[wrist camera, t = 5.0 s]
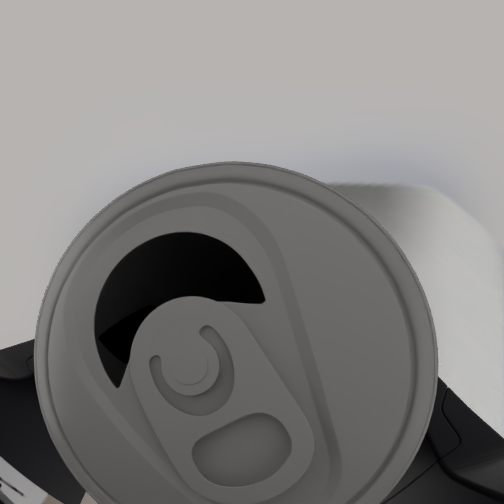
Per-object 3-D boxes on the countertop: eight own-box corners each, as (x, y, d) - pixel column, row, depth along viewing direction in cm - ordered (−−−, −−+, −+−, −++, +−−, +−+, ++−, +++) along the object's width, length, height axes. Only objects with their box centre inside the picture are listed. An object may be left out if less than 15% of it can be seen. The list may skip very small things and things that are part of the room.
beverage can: (290, 280, 15) (270, 85, 4) (357, 377, 13) (527, 404, 2) (191, 341, 15) (-5, 278, 4) (252, 441, 12) (144, 593, 1)
